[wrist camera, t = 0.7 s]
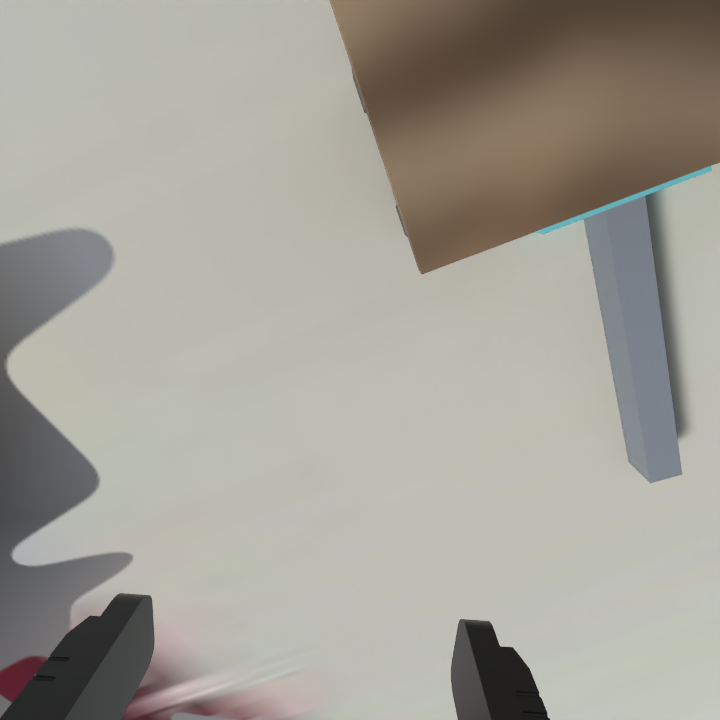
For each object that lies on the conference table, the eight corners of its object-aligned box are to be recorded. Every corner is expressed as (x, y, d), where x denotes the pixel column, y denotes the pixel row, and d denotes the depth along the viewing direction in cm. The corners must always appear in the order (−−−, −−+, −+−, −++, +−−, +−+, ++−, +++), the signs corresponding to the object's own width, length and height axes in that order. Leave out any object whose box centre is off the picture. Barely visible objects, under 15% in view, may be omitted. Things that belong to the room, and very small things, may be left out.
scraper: (522, 214, 28) (539, 215, 25) (673, 155, 26) (710, 149, 24) (582, 473, 35) (601, 496, 33) (703, 439, 34) (734, 460, 31)
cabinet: (343, 73, 25) (314, -53, 13) (824, -154, 21) (1470, -666, 9) (400, 244, 29) (421, 274, 16) (822, 79, 24) (1276, -47, 12)
